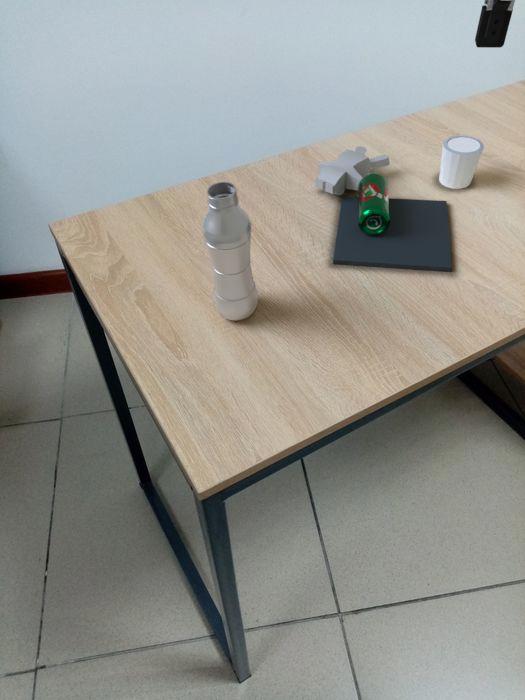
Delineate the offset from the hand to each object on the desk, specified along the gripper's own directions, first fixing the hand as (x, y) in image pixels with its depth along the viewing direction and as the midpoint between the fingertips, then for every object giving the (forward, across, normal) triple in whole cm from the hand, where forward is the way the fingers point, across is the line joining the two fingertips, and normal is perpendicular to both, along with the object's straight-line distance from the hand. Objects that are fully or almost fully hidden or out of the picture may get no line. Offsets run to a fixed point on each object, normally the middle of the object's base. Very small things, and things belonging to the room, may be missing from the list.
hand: (488, 44), depth 64 cm
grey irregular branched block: (+29, -15, -16) cm, 37 cm away
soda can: (+26, +2, -11) cm, 28 cm away
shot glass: (+29, -18, +3) cm, 35 cm away
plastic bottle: (+29, +20, -30) cm, 46 cm away
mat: (+29, -1, -8) cm, 30 cm away
